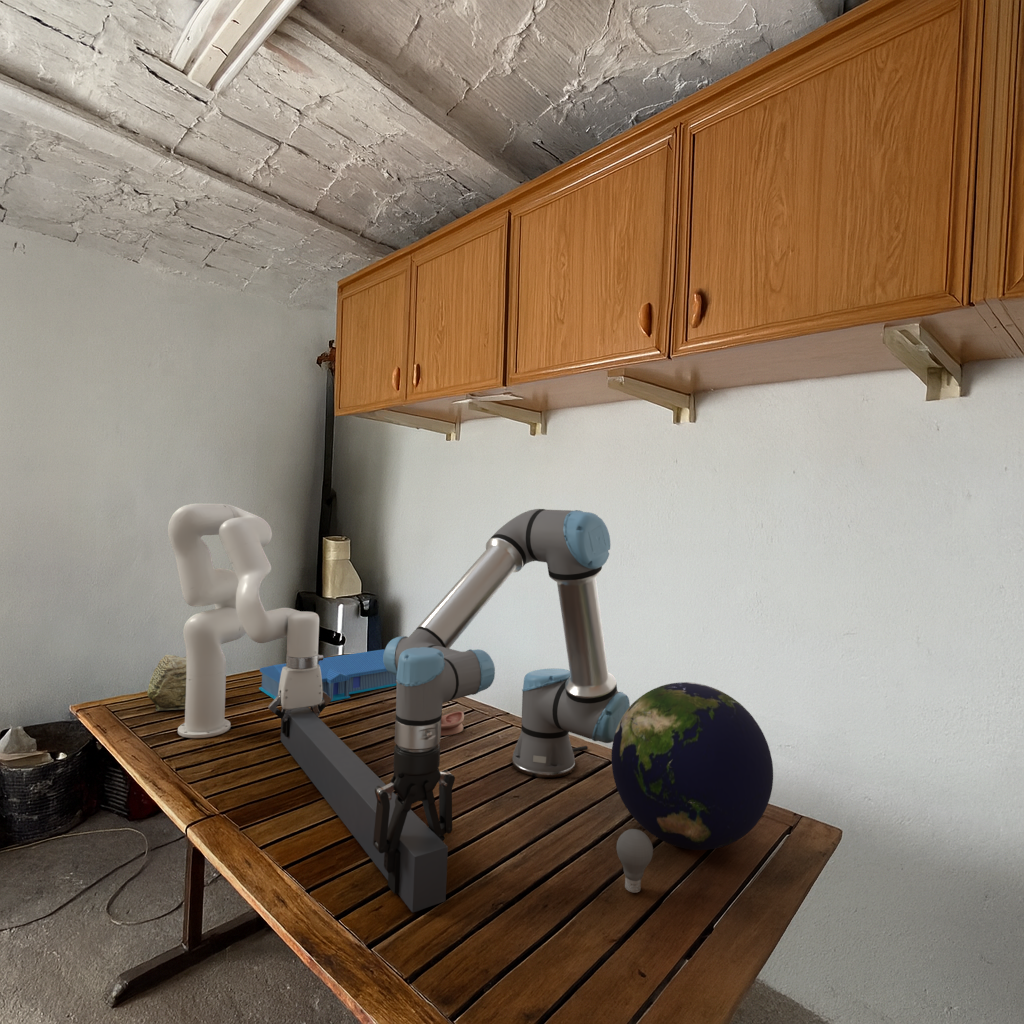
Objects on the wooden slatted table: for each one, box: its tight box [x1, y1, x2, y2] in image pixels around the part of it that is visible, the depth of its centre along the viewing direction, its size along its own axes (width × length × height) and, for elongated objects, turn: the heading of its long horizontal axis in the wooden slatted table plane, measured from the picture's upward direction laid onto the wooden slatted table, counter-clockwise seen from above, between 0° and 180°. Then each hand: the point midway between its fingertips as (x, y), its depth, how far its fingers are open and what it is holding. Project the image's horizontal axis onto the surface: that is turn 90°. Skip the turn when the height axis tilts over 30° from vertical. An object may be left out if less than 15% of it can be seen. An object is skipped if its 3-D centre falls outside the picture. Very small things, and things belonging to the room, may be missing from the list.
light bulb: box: [615, 828, 654, 894], centre depth 106 cm, size 6×6×10 cm
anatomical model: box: [441, 710, 465, 737], centre depth 175 cm, size 13×4×12 cm
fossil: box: [147, 654, 187, 712], centre depth 185 cm, size 9×18×15 cm, turn 132°
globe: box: [610, 681, 774, 851], centre depth 122 cm, size 30×30×30 cm
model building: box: [258, 648, 397, 703], centre depth 208 cm, size 39×24×10 cm, turn 132°
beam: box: [280, 707, 449, 914], centre depth 132 cm, size 79×6×9 cm, turn 34°
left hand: (299, 732), depth 159 cm, fingers closed on beam, 5 cm apart
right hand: (411, 882), depth 105 cm, fingers closed on beam, 6 cm apart
